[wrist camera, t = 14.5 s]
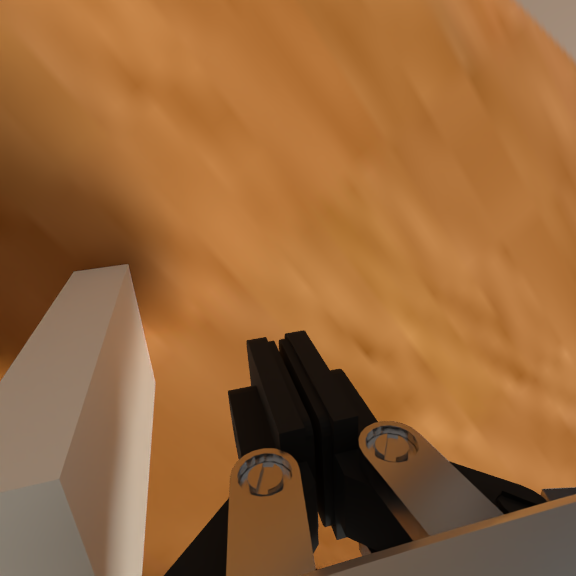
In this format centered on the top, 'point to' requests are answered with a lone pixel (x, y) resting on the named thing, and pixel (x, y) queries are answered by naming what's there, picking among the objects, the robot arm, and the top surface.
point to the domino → (78, 435)
